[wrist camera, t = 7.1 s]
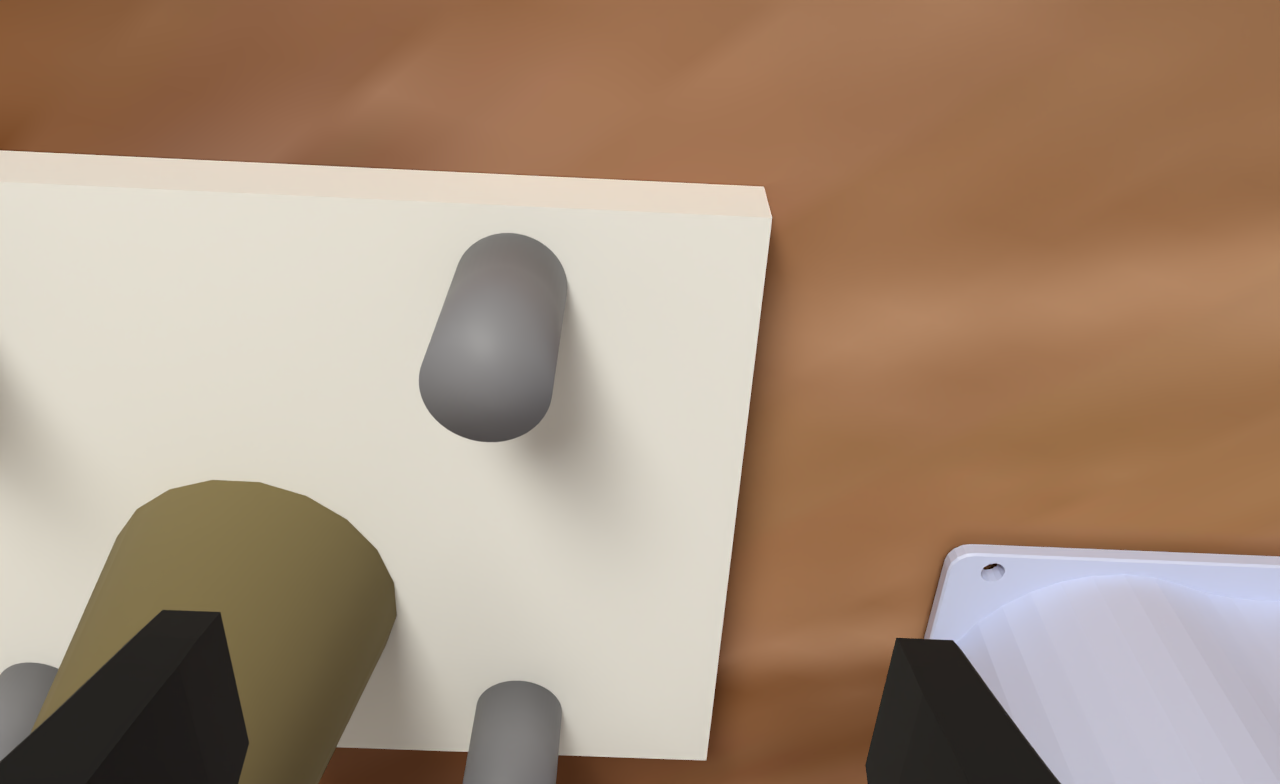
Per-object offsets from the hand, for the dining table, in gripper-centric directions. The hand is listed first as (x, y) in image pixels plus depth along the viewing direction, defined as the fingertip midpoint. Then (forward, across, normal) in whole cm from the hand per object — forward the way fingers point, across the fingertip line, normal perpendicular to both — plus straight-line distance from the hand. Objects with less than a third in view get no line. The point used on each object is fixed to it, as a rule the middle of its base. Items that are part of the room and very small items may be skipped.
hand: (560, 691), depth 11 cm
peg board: (+10, +7, +5) cm, 13 cm away
